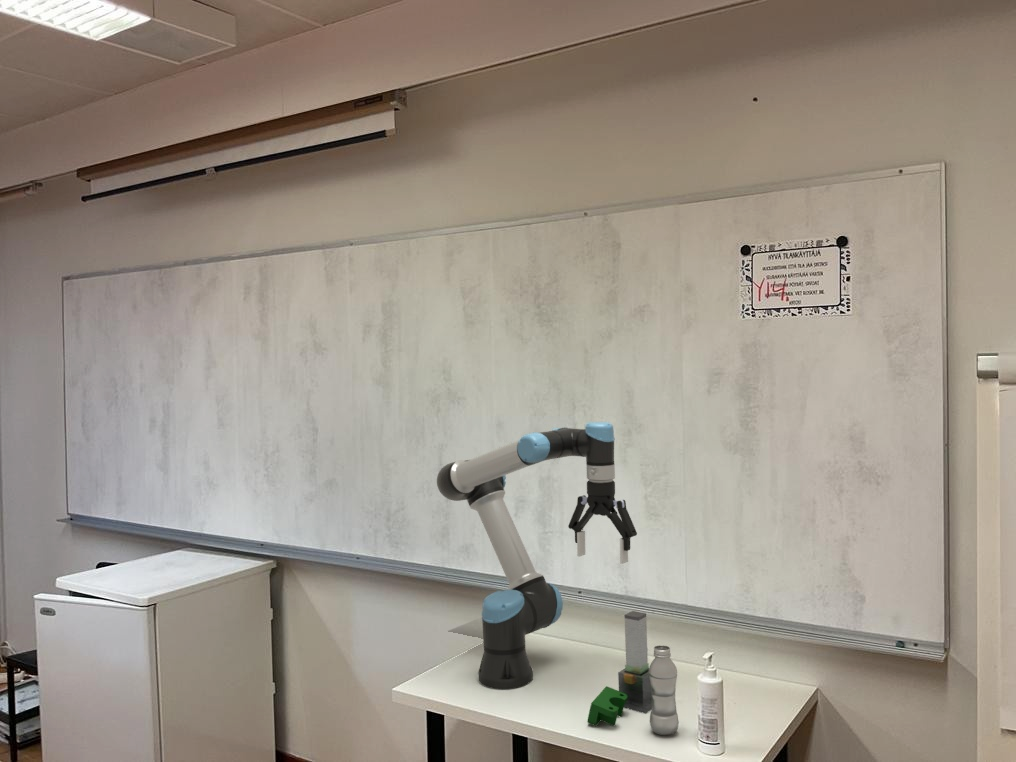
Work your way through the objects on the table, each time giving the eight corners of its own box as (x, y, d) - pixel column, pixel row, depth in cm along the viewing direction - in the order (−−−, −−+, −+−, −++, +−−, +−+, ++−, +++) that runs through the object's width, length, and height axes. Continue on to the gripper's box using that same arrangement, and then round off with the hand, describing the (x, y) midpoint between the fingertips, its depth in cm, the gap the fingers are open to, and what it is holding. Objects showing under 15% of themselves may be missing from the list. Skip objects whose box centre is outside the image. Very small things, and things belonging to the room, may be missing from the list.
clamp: (609, 744, 198) (611, 718, 194) (586, 734, 200) (588, 708, 196) (627, 708, 207) (630, 682, 203) (605, 699, 210) (607, 673, 205)
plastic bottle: (651, 725, 197) (648, 642, 197) (680, 727, 196) (677, 644, 195) (648, 737, 191) (645, 651, 191) (677, 740, 189) (675, 653, 189)
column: (625, 672, 211) (623, 615, 210) (634, 667, 214) (632, 610, 214) (640, 676, 208) (638, 617, 207) (648, 670, 211) (646, 613, 211)
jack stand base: (611, 704, 210) (610, 671, 210) (631, 691, 218) (630, 659, 218) (645, 713, 204) (644, 680, 204) (665, 699, 212) (664, 667, 212)
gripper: (554, 478, 226) (556, 555, 227) (633, 486, 210) (635, 568, 211) (570, 474, 232) (572, 549, 232) (648, 482, 216) (650, 562, 217)
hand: (602, 559), depth 222 cm, fingers open, 13 cm apart
